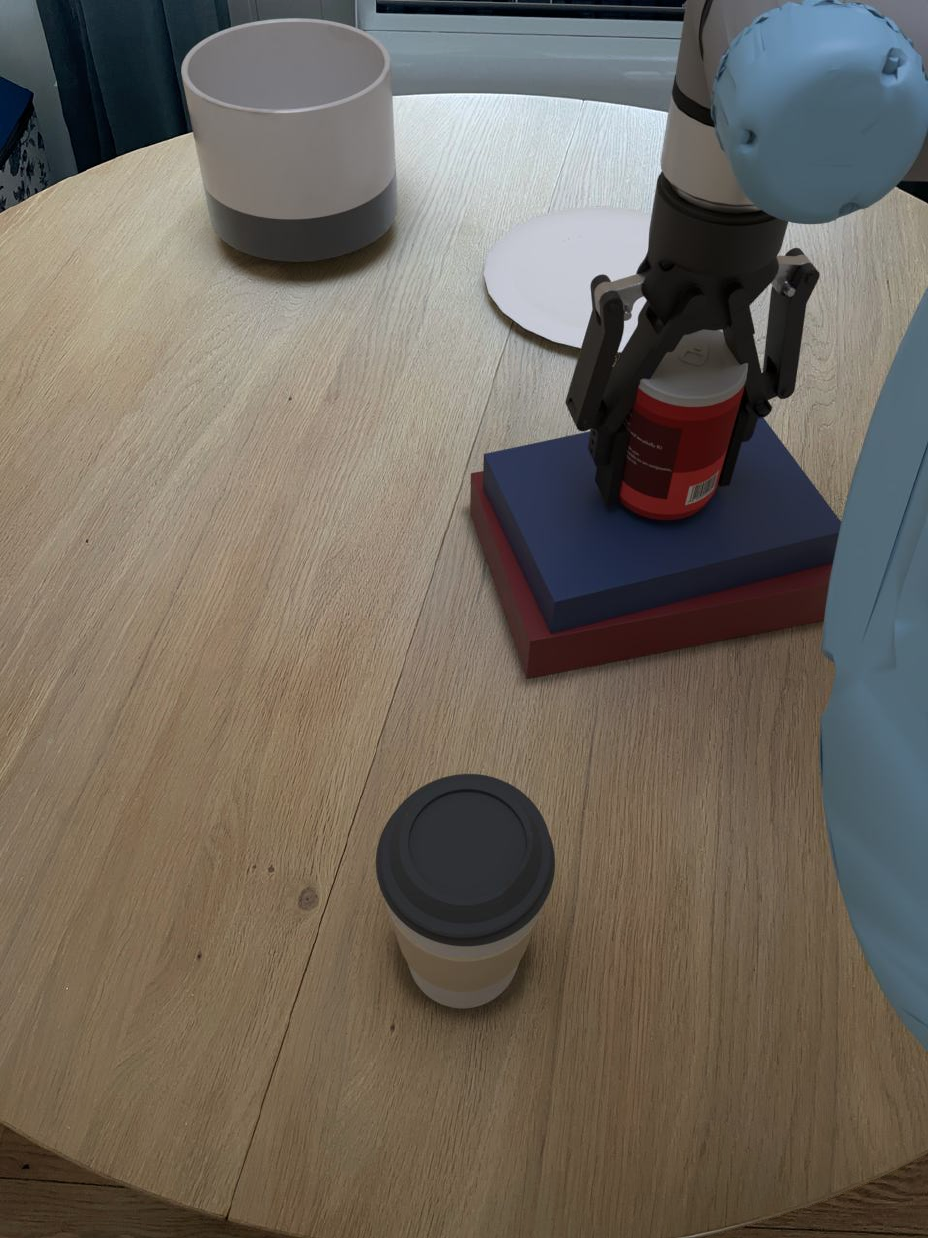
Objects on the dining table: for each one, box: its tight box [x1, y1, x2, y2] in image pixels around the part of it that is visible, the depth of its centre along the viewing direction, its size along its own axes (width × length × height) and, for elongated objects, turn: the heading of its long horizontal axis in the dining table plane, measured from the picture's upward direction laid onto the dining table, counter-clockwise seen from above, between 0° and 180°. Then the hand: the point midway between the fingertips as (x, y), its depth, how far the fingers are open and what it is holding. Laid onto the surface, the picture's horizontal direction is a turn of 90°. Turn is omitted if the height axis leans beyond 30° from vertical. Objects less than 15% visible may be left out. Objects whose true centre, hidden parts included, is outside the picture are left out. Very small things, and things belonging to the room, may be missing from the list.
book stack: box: [469, 417, 842, 680], centre depth 78 cm, size 17×24×8 cm
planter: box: [180, 17, 398, 263], centre depth 103 cm, size 19×19×18 cm
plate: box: [483, 205, 652, 355], centre depth 104 cm, size 25×25×2 cm
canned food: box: [618, 330, 748, 520], centre depth 70 cm, size 8×8×11 cm
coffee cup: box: [375, 773, 556, 1010], centre depth 56 cm, size 9×9×15 cm
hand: (662, 482), depth 74 cm, fingers closed on canned food, 8 cm apart
